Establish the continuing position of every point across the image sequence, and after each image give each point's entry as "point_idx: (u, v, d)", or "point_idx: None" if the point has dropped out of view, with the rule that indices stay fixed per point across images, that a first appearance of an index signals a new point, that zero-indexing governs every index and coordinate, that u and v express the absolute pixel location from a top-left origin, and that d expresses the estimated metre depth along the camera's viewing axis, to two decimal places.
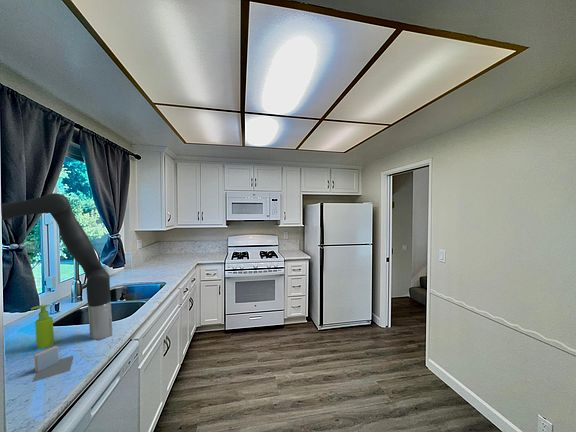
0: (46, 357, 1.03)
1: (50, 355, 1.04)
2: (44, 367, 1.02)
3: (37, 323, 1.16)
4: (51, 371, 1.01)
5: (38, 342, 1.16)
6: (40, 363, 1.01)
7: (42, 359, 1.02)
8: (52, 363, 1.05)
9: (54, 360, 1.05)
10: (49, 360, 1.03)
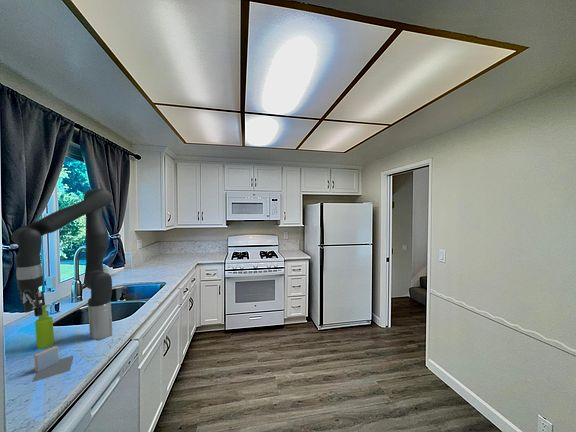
0: (46, 357, 1.03)
1: (50, 355, 1.04)
2: (44, 367, 1.02)
3: (37, 323, 1.16)
4: (51, 371, 1.01)
5: (38, 342, 1.16)
6: (40, 363, 1.01)
7: (42, 359, 1.02)
8: (52, 363, 1.05)
9: (54, 360, 1.05)
10: (49, 360, 1.03)
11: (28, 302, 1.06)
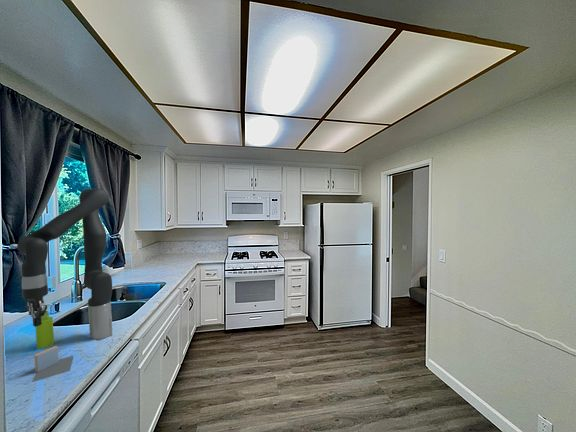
0: (46, 357, 1.03)
1: (50, 355, 1.04)
2: (44, 367, 1.02)
3: None
4: (51, 371, 1.01)
5: (38, 342, 1.16)
6: (40, 363, 1.01)
7: (42, 359, 1.02)
8: (52, 363, 1.05)
9: (54, 360, 1.05)
10: (49, 360, 1.03)
11: None
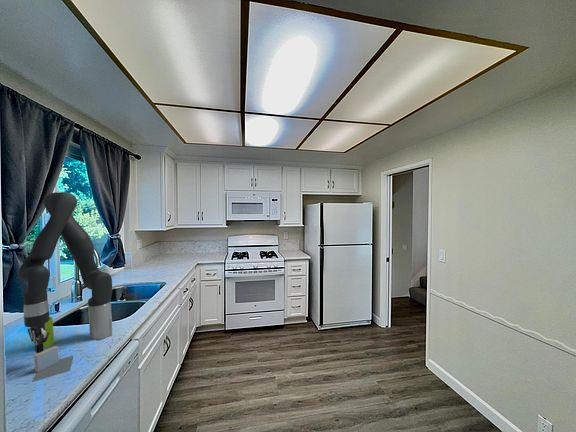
0: (46, 357, 1.03)
1: (50, 355, 1.04)
2: (44, 367, 1.02)
3: None
4: (51, 371, 1.01)
5: None
6: (40, 363, 1.01)
7: (42, 359, 1.02)
8: (52, 363, 1.05)
9: (54, 360, 1.05)
10: (49, 360, 1.03)
11: None
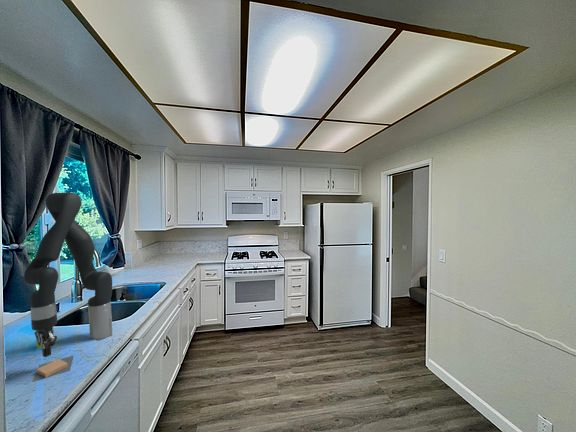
0: None
1: None
2: None
3: None
4: None
5: None
6: None
7: None
8: None
9: None
10: None
11: None
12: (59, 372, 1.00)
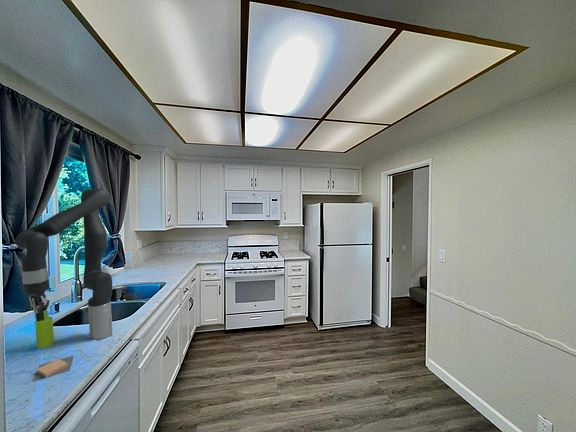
0: None
1: None
2: None
3: (37, 323, 1.16)
4: None
5: (38, 342, 1.16)
6: None
7: None
8: None
9: None
10: None
11: None
12: (59, 372, 1.00)
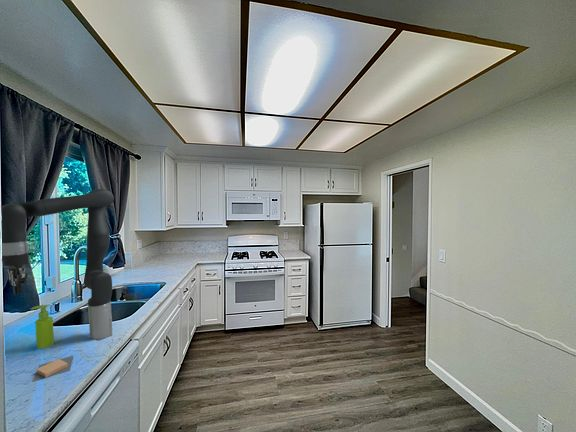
0: None
1: None
2: None
3: (37, 323, 1.16)
4: None
5: (38, 342, 1.16)
6: None
7: None
8: None
9: None
10: None
11: None
12: (59, 372, 1.00)
